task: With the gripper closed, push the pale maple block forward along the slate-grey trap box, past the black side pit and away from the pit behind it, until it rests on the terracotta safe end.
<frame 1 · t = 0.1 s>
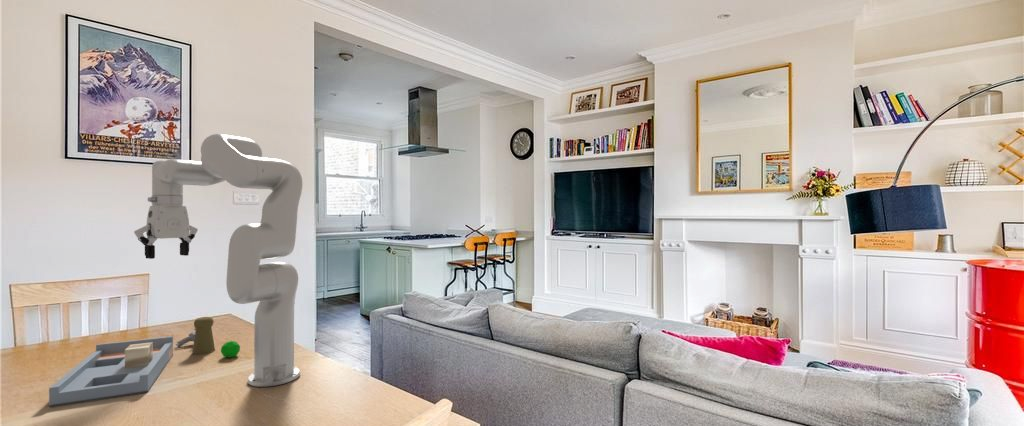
hand: (167, 256, 137), 31 cm above the table, tool pointing down, fingers open, 9 cm apart
cork: (203, 352, 143), on the table
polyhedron: (230, 357, 138), on the table
trap box: (120, 377, 121), on the table
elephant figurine: (193, 345, 150), on the table
maple block: (139, 364, 123), point 3 cm above the table, touching trap box
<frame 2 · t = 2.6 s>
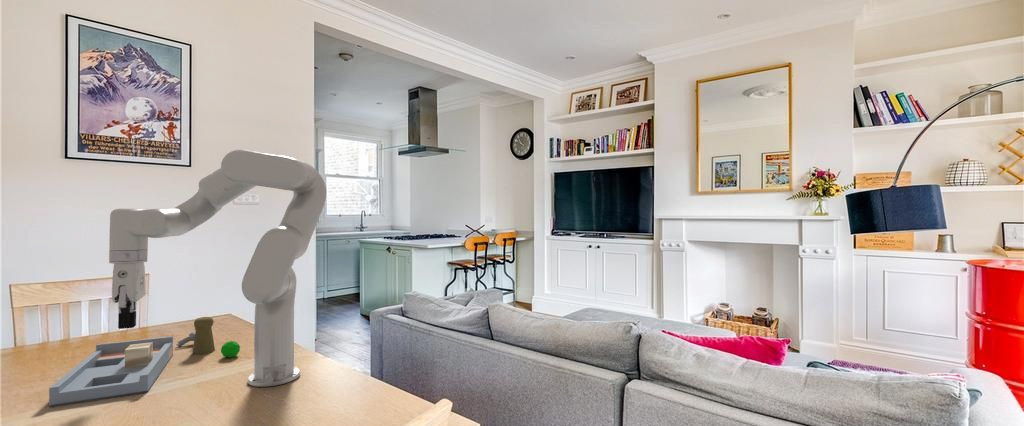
hand: (127, 327, 115), 15 cm above the table, tool pointing down, fingers closed
nothing on the table moved.
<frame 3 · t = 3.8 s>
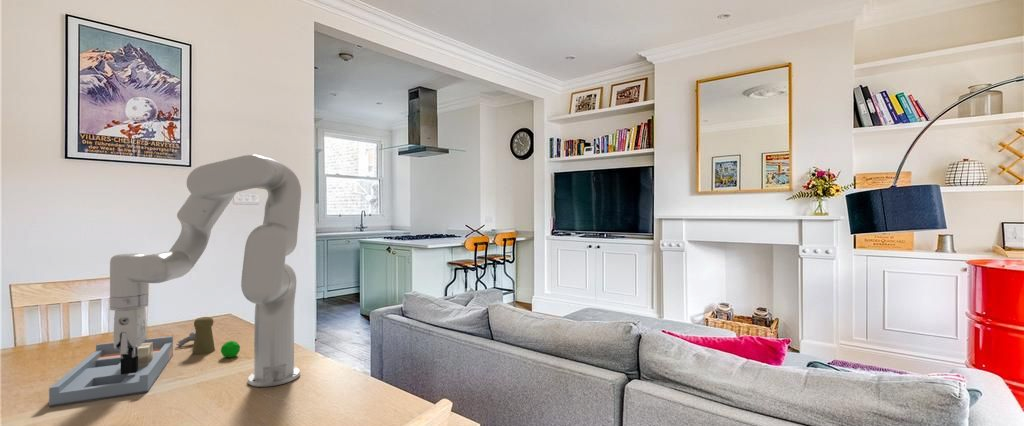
hand: (129, 372, 115), 4 cm above the table, tool pointing down, fingers closed
nothing on the table moved.
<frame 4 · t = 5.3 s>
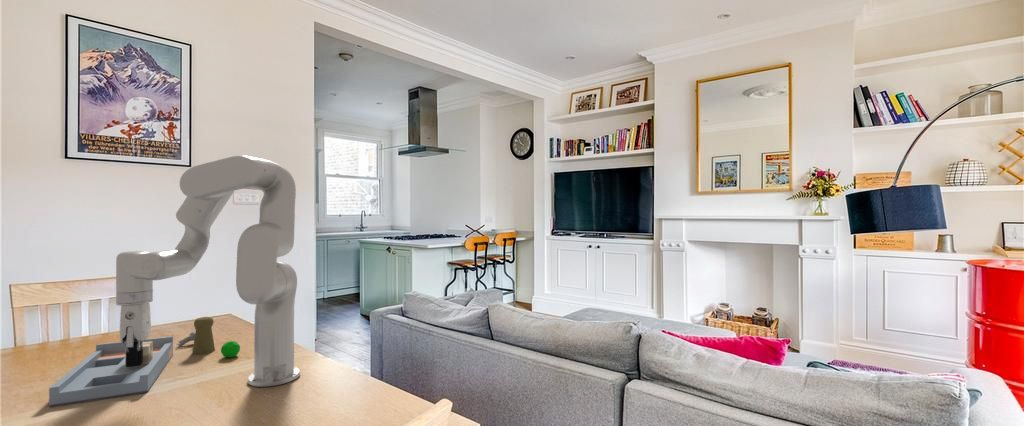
hand: (134, 365, 120), 4 cm above the table, tool pointing down, fingers closed
maple block: (139, 362, 124), point 3 cm above the table, touching gripper
everything else where it was.
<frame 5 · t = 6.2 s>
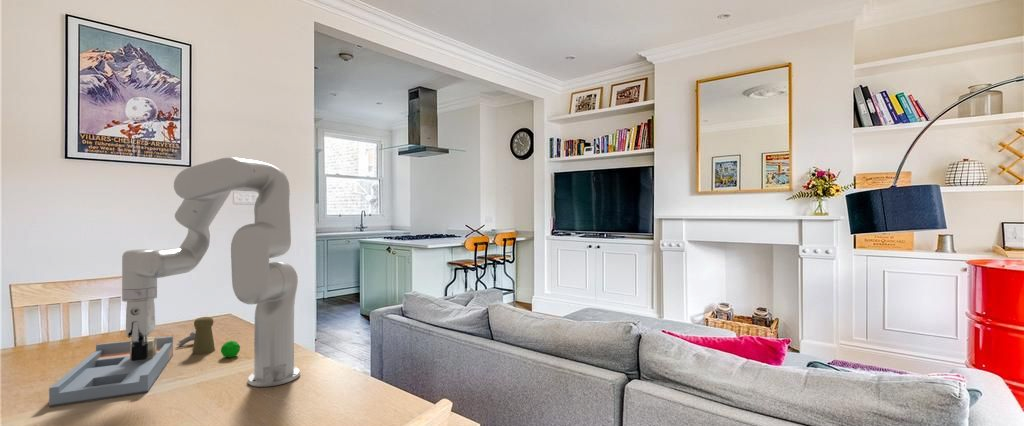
hand: (139, 359, 124), 4 cm above the table, tool pointing down, fingers closed
maple block: (143, 357, 129), point 3 cm above the table, touching gripper
everything else where it was.
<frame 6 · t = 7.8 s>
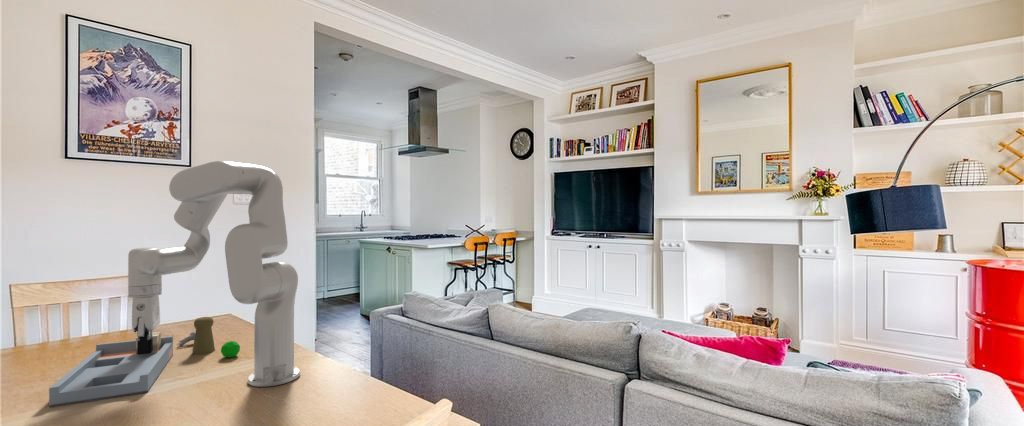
hand: (145, 353, 130), 4 cm above the table, tool pointing down, fingers closed
maple block: (148, 351, 134), point 3 cm above the table, touching gripper, trap box
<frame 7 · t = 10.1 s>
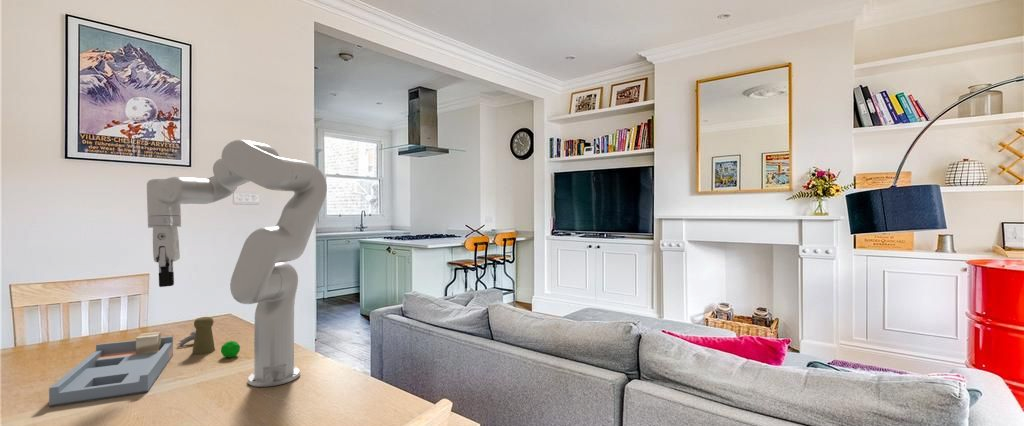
hand: (166, 285, 128), 24 cm above the table, tool pointing down, fingers closed
maple block: (148, 351, 134), point 3 cm above the table, touching trap box
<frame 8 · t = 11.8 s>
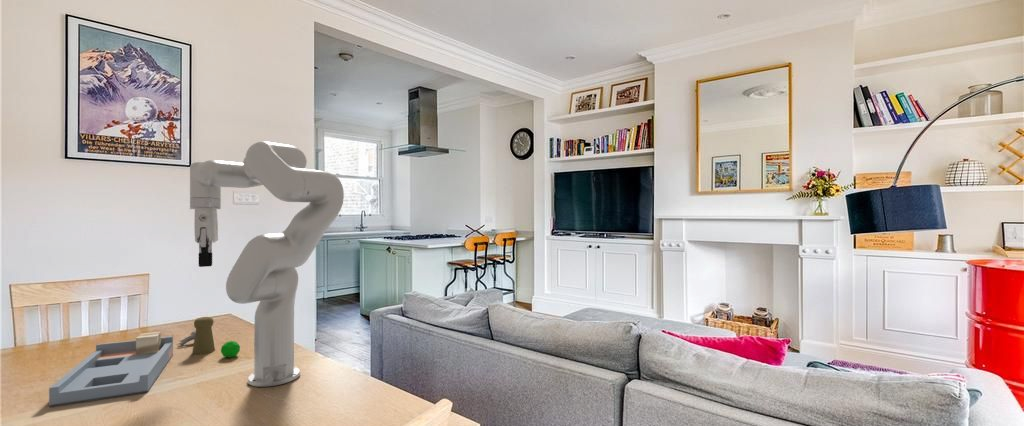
hand: (205, 266, 132), 29 cm above the table, tool pointing down, fingers closed
at the end: maple block 1.5 cm from the target spot on the trap box, point 3.0 cm above the trap box's base; maple block tilted 0° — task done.
